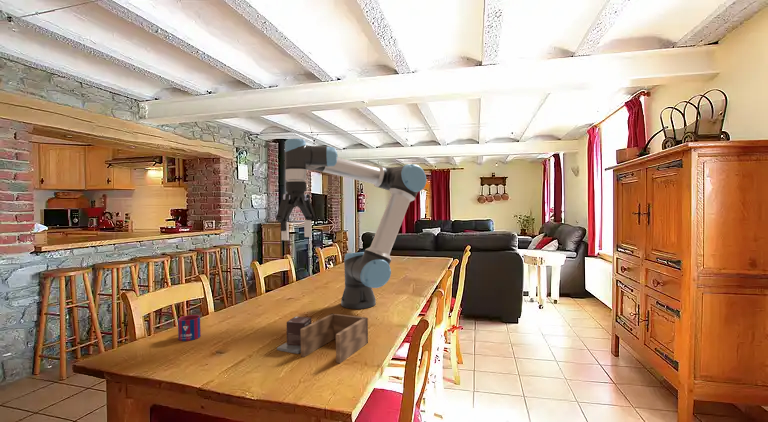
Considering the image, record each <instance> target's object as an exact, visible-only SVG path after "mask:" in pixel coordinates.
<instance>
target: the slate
mask: <svg viewBox="0 0 768 422" xmlns="http://www.w3.org/2000/svg"><path fill="white" fill-rule="evenodd" d="M276 351H280V352H286V353H291V354H297V355H299V354H301V346H295V345H287V342H284V343H283V344H281V345H279V346H278V347H276Z"/></svg>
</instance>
